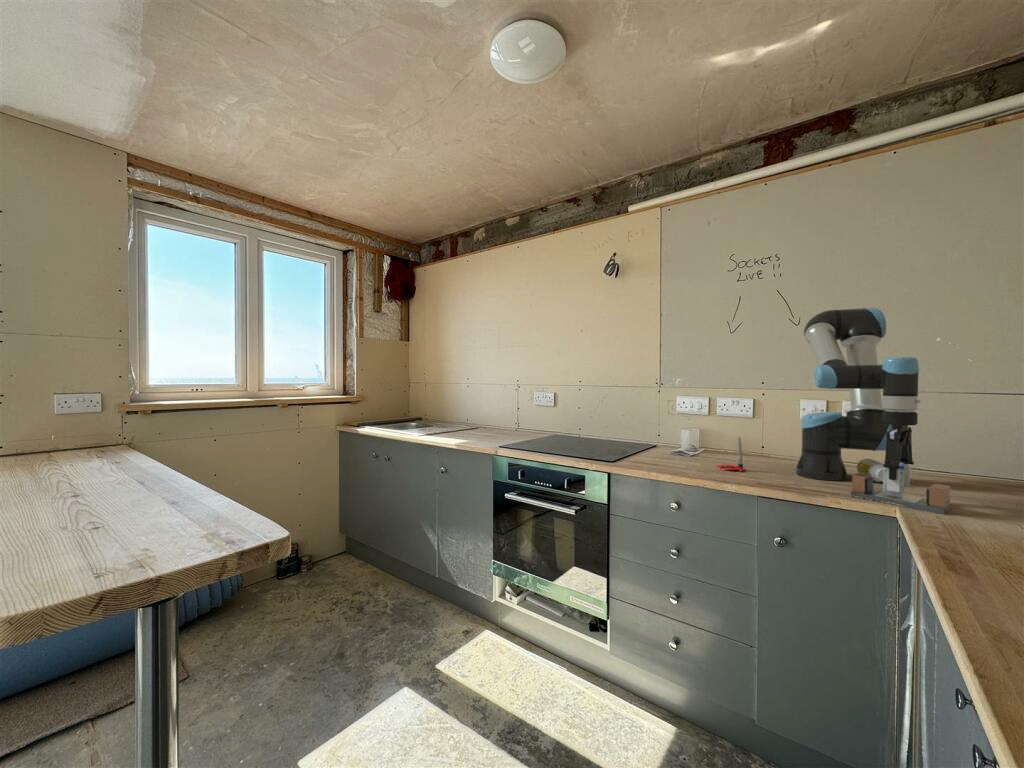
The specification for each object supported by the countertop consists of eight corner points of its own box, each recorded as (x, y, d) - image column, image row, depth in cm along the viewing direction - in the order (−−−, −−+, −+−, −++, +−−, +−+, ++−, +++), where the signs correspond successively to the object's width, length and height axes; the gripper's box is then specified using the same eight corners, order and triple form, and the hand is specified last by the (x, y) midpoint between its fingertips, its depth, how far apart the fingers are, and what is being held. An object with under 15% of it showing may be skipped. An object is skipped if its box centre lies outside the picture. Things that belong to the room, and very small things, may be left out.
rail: (850, 496, 128) (851, 475, 128) (860, 492, 133) (860, 471, 133) (943, 514, 112) (943, 490, 112) (950, 508, 116) (951, 485, 116)
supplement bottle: (862, 479, 154) (880, 488, 142) (852, 463, 155) (869, 470, 143) (882, 471, 152) (902, 480, 140) (871, 455, 153) (890, 462, 141)
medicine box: (882, 488, 128) (883, 459, 127) (902, 491, 125) (904, 462, 124) (882, 493, 122) (883, 463, 121) (903, 496, 119) (905, 466, 118)
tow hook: (716, 471, 165) (743, 472, 160) (714, 438, 165) (741, 438, 160) (717, 467, 172) (743, 468, 167) (716, 435, 172) (741, 436, 168)
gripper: (906, 413, 113) (904, 497, 113) (927, 409, 125) (926, 485, 125) (870, 411, 119) (869, 491, 119) (894, 408, 131) (893, 480, 131)
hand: (898, 488), depth 122 cm, fingers closed on medicine box, 8 cm apart
